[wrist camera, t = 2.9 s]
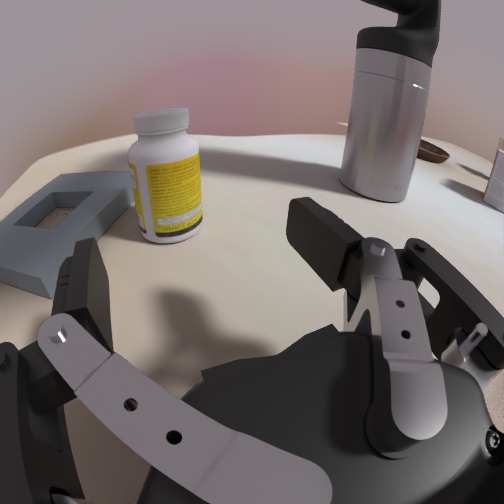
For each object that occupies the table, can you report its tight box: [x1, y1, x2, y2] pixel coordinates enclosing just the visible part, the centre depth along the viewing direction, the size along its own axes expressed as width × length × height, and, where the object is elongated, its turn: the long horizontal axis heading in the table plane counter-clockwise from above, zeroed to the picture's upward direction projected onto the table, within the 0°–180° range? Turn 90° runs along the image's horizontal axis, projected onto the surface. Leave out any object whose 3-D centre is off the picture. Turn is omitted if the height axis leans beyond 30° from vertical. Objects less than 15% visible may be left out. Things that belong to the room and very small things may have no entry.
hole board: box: [0, 171, 134, 299], centre depth 22 cm, size 18×14×2 cm
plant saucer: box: [417, 139, 450, 163], centre depth 55 cm, size 18×18×3 cm
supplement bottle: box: [128, 107, 202, 243], centre depth 19 cm, size 5×5×10 cm
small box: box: [483, 148, 504, 213], centre depth 33 cm, size 8×6×10 cm
